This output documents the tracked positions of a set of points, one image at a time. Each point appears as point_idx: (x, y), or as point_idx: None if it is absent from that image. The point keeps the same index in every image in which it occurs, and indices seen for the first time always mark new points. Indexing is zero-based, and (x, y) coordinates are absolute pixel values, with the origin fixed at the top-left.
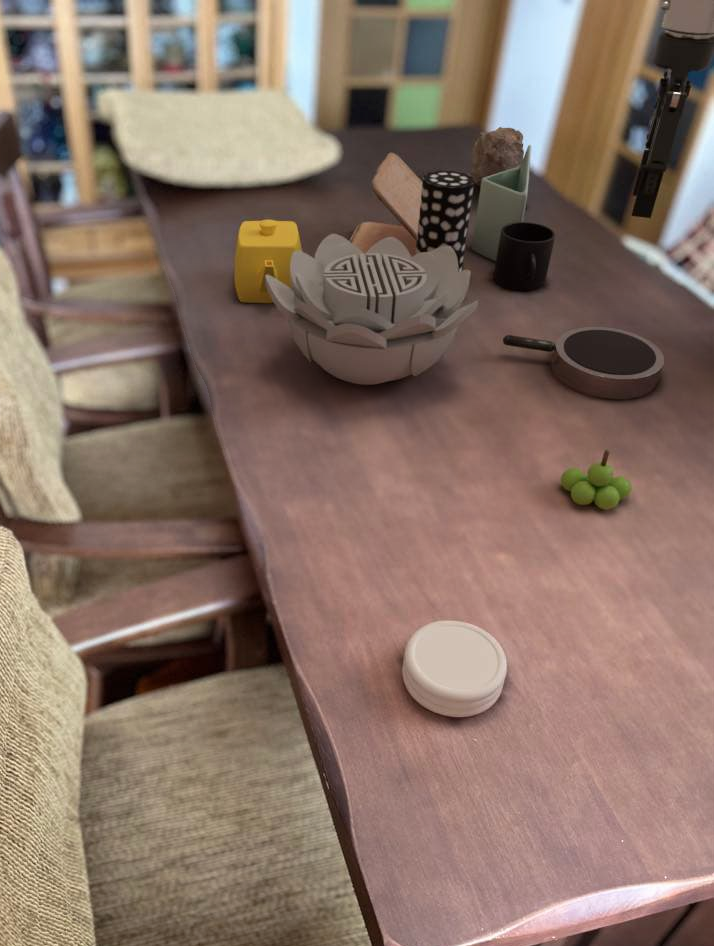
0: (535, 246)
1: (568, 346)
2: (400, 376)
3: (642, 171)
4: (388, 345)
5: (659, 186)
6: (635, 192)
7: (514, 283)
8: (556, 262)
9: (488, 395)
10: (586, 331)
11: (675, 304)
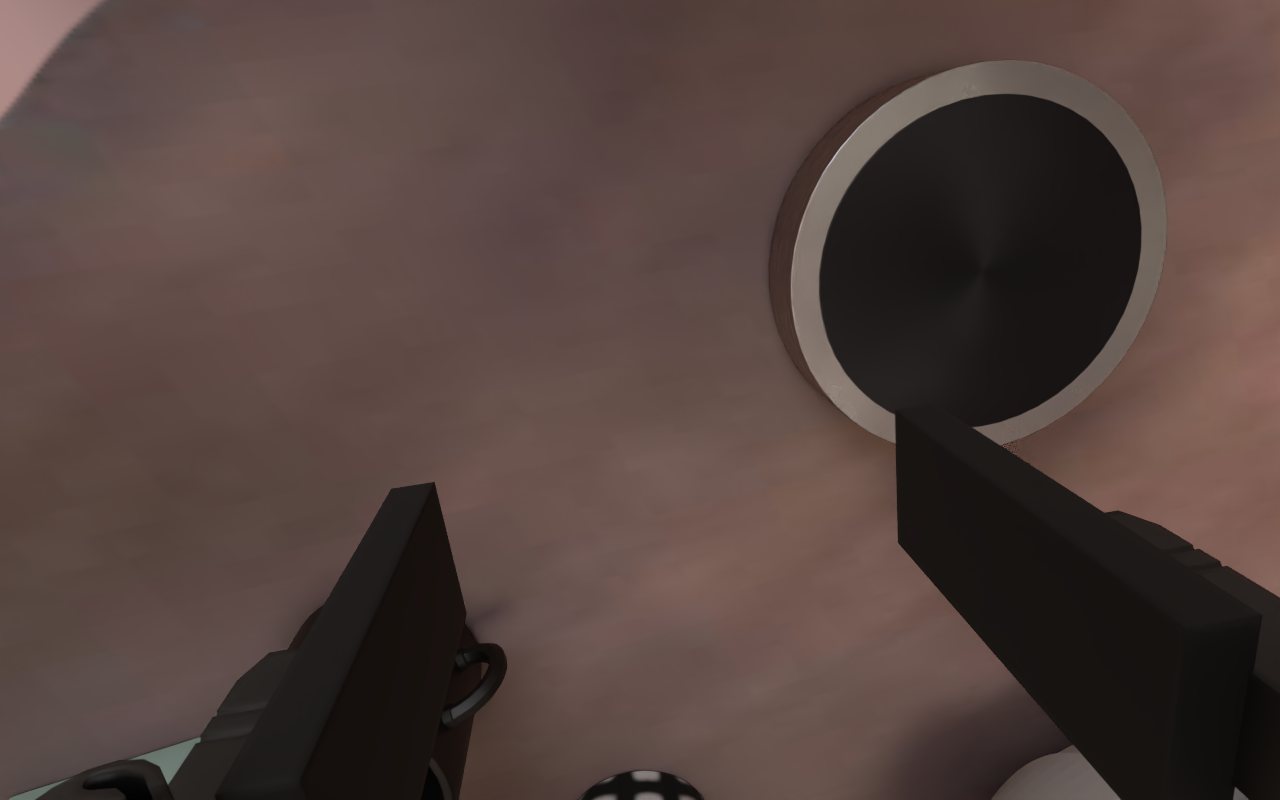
0: (435, 742)
1: (993, 409)
2: None
3: (419, 738)
4: None
5: (1114, 520)
6: (459, 615)
7: (478, 674)
8: (137, 597)
9: (1168, 528)
10: (859, 378)
11: (243, 81)
